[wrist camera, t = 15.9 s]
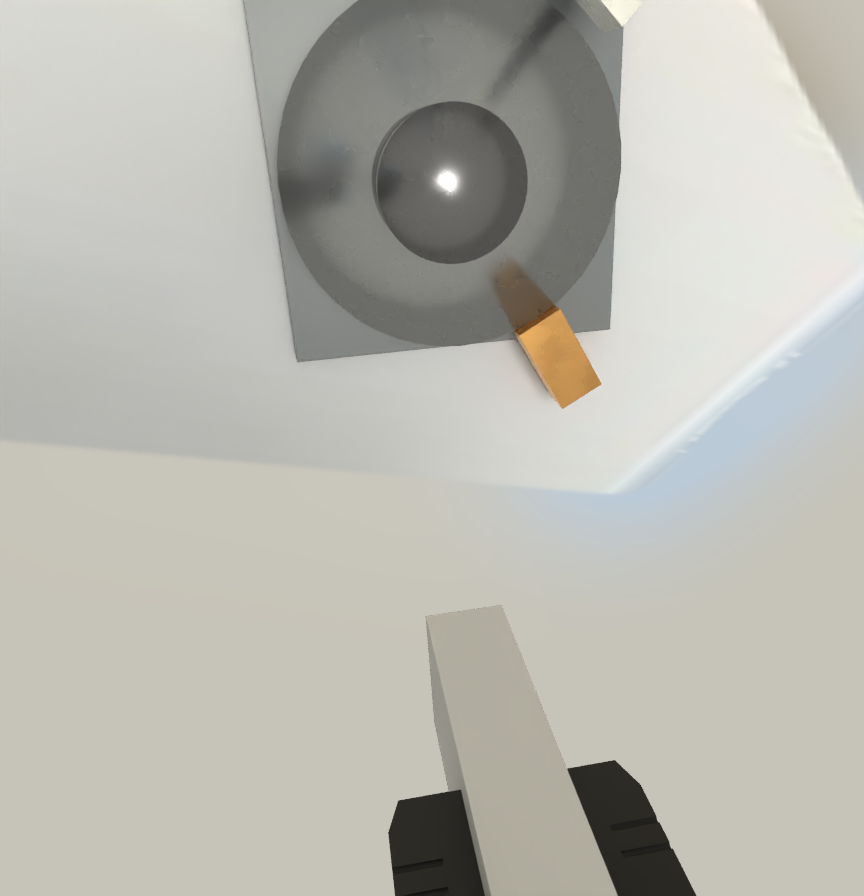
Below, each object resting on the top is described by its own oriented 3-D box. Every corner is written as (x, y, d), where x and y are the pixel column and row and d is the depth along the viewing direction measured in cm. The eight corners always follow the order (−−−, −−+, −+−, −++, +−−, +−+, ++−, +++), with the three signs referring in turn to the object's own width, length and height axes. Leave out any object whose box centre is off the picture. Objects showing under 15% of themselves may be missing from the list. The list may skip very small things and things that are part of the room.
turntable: (448, 462, 50) (454, 477, 47) (203, 116, 39) (197, 115, 37) (696, 303, 48) (714, 311, 45) (512, -109, 37) (524, -124, 35)
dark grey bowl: (422, 279, 43) (432, 293, 39) (343, 161, 39) (346, 164, 36) (533, 200, 42) (554, 207, 38) (461, 72, 38) (477, 66, 35)
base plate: (297, 358, 46) (297, 362, 45) (241, -23, 37) (239, -26, 37) (605, 326, 48) (609, 329, 48) (620, -39, 40) (626, -42, 39)
